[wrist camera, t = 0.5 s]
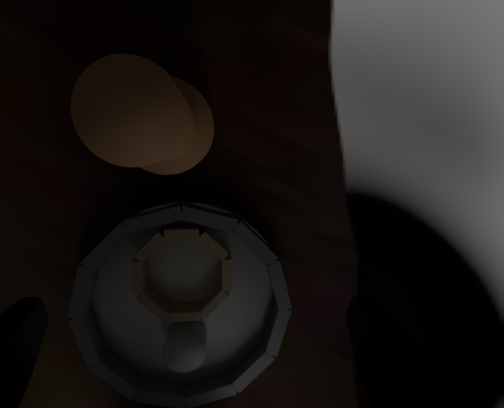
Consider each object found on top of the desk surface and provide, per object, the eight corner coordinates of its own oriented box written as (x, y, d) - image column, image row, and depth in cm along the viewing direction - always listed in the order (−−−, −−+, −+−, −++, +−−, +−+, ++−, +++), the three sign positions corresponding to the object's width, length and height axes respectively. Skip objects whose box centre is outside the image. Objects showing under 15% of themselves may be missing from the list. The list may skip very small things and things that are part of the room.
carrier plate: (190, 414, 28) (186, 450, 25) (41, 301, 25) (14, 325, 22) (319, 291, 27) (334, 311, 24) (184, 158, 24) (179, 160, 21)
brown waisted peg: (175, 186, 24) (134, 225, 12) (115, 128, 23) (2, 108, 11) (230, 131, 24) (244, 115, 12) (172, 70, 23) (122, -17, 11)
